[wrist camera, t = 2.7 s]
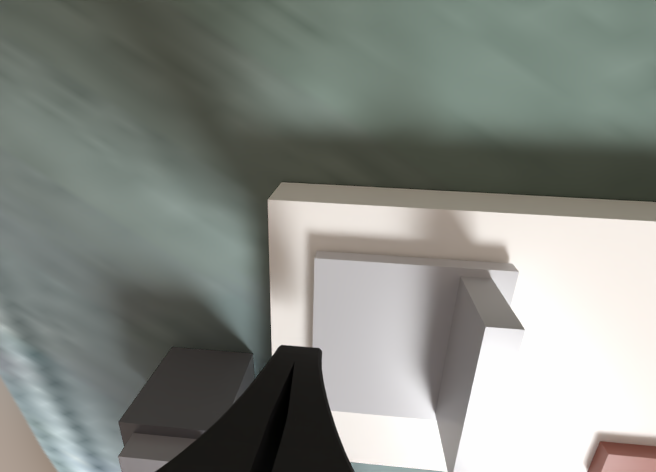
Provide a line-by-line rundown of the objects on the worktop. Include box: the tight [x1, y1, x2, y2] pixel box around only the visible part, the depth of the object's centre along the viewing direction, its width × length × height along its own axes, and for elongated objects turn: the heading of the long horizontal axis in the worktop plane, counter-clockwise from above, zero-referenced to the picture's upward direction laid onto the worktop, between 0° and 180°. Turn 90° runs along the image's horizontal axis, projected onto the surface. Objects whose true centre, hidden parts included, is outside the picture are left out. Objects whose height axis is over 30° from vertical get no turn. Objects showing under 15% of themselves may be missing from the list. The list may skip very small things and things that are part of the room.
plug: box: [118, 347, 254, 472], centre depth 17 cm, size 4×4×6 cm
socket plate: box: [268, 182, 656, 472], centre depth 16 cm, size 12×17×3 cm
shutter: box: [313, 251, 525, 472], centre depth 13 cm, size 7×7×3 cm
